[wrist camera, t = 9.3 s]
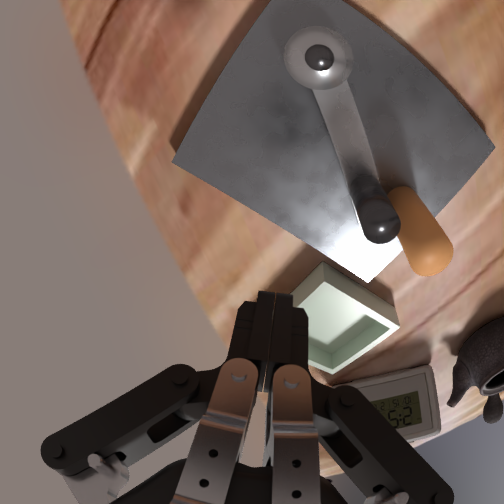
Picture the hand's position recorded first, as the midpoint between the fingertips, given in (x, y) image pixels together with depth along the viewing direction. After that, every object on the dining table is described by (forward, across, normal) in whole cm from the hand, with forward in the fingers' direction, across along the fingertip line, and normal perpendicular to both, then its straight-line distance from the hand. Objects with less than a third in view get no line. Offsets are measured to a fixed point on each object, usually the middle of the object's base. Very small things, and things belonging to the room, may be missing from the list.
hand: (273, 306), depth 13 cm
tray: (+15, -7, +15) cm, 22 cm away
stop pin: (+13, -10, 0) cm, 17 cm away
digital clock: (+15, -19, +29) cm, 38 cm away
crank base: (+15, -4, -4) cm, 16 cm away
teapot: (+15, -34, +22) cm, 44 cm away
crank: (+13, -4, -5) cm, 14 cm away
